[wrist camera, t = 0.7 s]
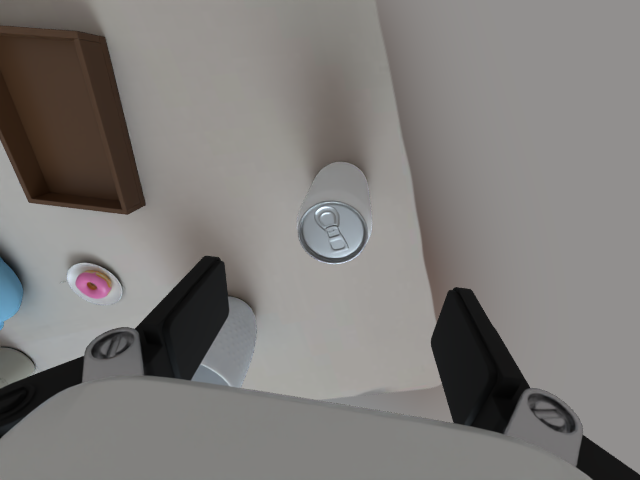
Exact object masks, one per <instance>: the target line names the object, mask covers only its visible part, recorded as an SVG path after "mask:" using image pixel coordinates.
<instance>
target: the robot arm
mask: <svg viewBox="0 0 640 480" xmlns="http://www.w3.org/2000/svg"><path fill="white" fill-rule="evenodd" d="M228 315H229V301H228V292H227V283H226V274H225V265H224V262H223V261H221V260H220V258H219V257H212V256H204V257H203V258H202V259H201V260H200V261H199V262H198V263H197V264H196V265H195V267H194V268H193V269H192V270H191V271H190V272H189V273H188V274H187V275H186V276H185V277H184V278H183V279H182V280H181V281H180V282H179V283H178V284H177V285H176V286H175V287H174V288H173V290H172V291H171V292H170V293H169V294H168V295H167V296H166V297H165V298H164V299H163V300H162V301H161V302H160V303H159V304H158V305H157V306H156V307H155V308H154V309H153V310H152V312H151V313H150V314H149V315H148V316H147V317H146V318H145V319H144V320H143V321H142V322H141V323H140V324H139V325H138V326H137V327H136V328H135V329H133V328H129V327H121V328H116V329H112V330H110V331H107V332H105V333H103V334H101V335H99V336H98V337H96V338H95V339H94V340H93V341H92V342H91V343H90V344H89V345H88V346H87V348H86V351H85V355H84V356H82V357H80V358H77V359H74V360H72V361H69V362H66V363H64V364H61V365H58V366H56V367H53V368H50V369H48V370H45V371H43V372H40V373H37V374H35V375H32V376H29V377H27V378H24V379H21V380H19V381H16V382H13V383H11V384H9V385H7V386H4V387H2V388H0V480H640V475H639V474H638V473H636V472H635V471H634V470H632V469H631V468H629V467H628V466H626V465H625V464H623V463H622V462H621V461H619V460H618V459H617V458H615V457H614V456H612V455H611V454H609V453H608V452H607V451H605V450H604V449H602V448H601V447H599V446H598V445H596V444H595V443H594V442H592V441H591V440H589V439H588V438H586V437H585V436H584V435H583V428H582V424H581V422H580V419H579V418H578V416H577V415H576V413H575V412H574V411H573V410H572V409H571V408H570V407H569V406H568V405H567V404H566V403H565V402H564V401H562V400H561V399H559V398H558V397H557V396H555V395H553V394H551V393H549V392H547V391H544V390H541V389H537V388H530V387H529V385H528V383H527V381H526V380H525V378H524V377H523V375H522V373H521V371H520V370H519V368H518V366H517V365H516V363H515V361H514V360H513V358H512V356H511V354H510V353H509V351H508V349H507V348H506V346H505V344H504V342H503V341H502V339H501V338H500V336H499V334H498V333H497V331H496V329H495V328H494V327H493V326H492V324H491V322H490V320H489V319H488V317H487V315H486V314H485V312H484V310H483V308H482V307H481V305H480V303H479V302H478V300H477V298H476V296H475V295H474V293H473V291H472V290H471V289H465V288H458V287H456V288H454V289H453V290H449V291H448V293H447V296H446V299H445V302H444V305H443V307H442V310H441V313H440V316H439V318H438V321H437V324H436V327H435V329H434V332H433V335H432V338H431V347H432V351H433V354H434V358H435V361H436V364H437V368H438V371H439V375H440V378H441V381H442V385H443V388H444V392H445V395H446V398H447V402H448V405H449V408H450V412H451V416H452V419H453V422H454V423H450V422H444V421H439V420H433V419H428V418H422V417H416V416H410V415H404V414H398V413H392V412H386V411H380V410H374V409H368V408H362V407H356V406H350V405H344V404H338V403H332V402H326V401H319V400H313V399H307V398H301V397H295V396H288V395H282V394H276V393H270V392H263V391H257V390H250V389H244V388H237V387H231V386H225V385H218V384H212V383H205V382H197V381H191V379H192V377H193V376H194V374H195V372H196V371H197V369H198V367H199V366H200V364H201V362H202V360H203V359H204V357H205V355H206V354H207V352H208V350H209V348H210V347H211V345H212V343H213V342H214V340H215V338H216V337H217V335H218V333H219V331H220V330H221V328H222V326H223V325H224V323H225V321H226V319H227V318H228Z"/></svg>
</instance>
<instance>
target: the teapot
mask: <svg viewBox="0 0 640 480" xmlns="http://www.w3.org/2000/svg"><path fill="white" fill-rule="evenodd" d="M22 297H23V288H22V285H21V282H20V281H19V279H18V277H17V276H16V274H15V273H14V272H13V270H12V269H11V268H10V267H9V266H8V265H7V264H6V263H5V262H4V261H3V260H2V258H1V257H0V330H1V329H2V328H3V326H4V321H6V320H7V319H9V318H11V317H12V316H14V315H15V314H16V312H17V311H18V310H19V308H20V305H21V302H22Z"/></svg>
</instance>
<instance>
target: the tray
mask: <svg viewBox="0 0 640 480" xmlns="http://www.w3.org/2000/svg"><path fill="white" fill-rule="evenodd" d="M0 140H1V142H2V144H3V147H4V149H5V151H6V153H7V155H8V158H9V160H10V162H11V164H12V166H13V169H14V171H15V173H16V175H17V177H18V180H19V182H20V184H21V186H22V189H23V191H24V193H25V195H26V197H27V200H28V202H29V203H36V204H44V205H52V206H61V207H69V208H77V209H85V210H94V211H102V212H110V213H118V214H127V215H128V214H130V213H132V212H134V211H135V210H137V209H139V208H141V207H143V206H145V201H144V197H143V192H142V188H141V184H140V180H139V176H138V172H137V168H136V163H135V159H134V155H133V151H132V147H131V143H130V139H129V135H128V130H127V126H126V122H125V118H124V114H123V110H122V106H121V101H120V97H119V93H118V89H117V85H116V81H115V77H114V72H113V68H112V64H111V60H110V56H109V52H108V48H107V43H106V39H105V37H102V36H97V35H92V34H88V33H83V32H79V31H69V30H56V29H42V28H28V27H14V26H1V25H0Z"/></svg>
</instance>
